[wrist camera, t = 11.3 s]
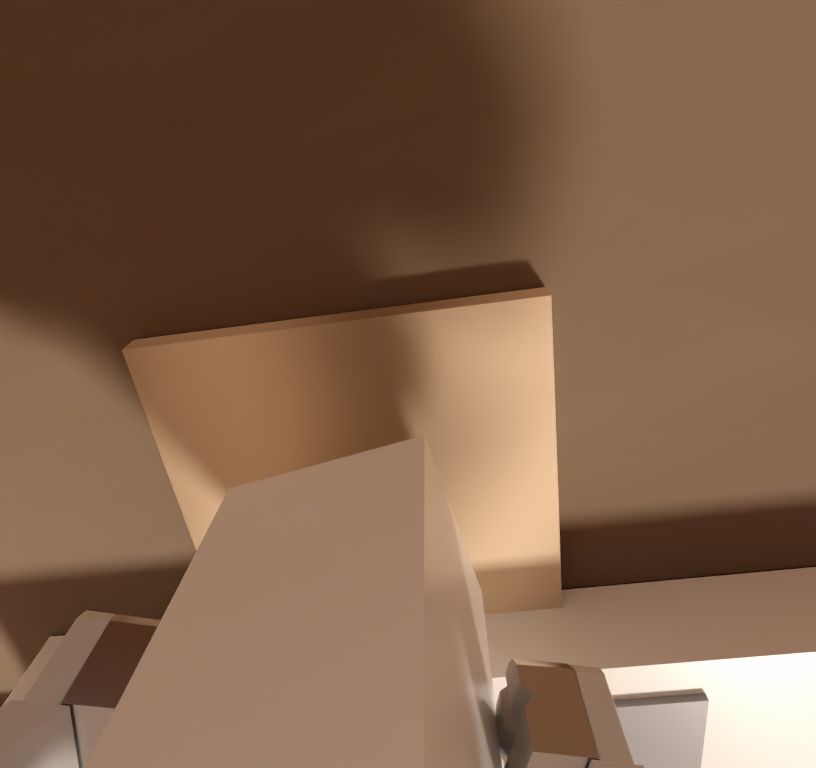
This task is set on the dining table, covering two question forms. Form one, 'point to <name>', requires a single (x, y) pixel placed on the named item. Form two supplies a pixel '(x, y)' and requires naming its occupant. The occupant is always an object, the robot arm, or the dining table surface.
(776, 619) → the power strip
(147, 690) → the block
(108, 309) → the dining table surface
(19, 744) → the robot arm
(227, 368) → the coaster
